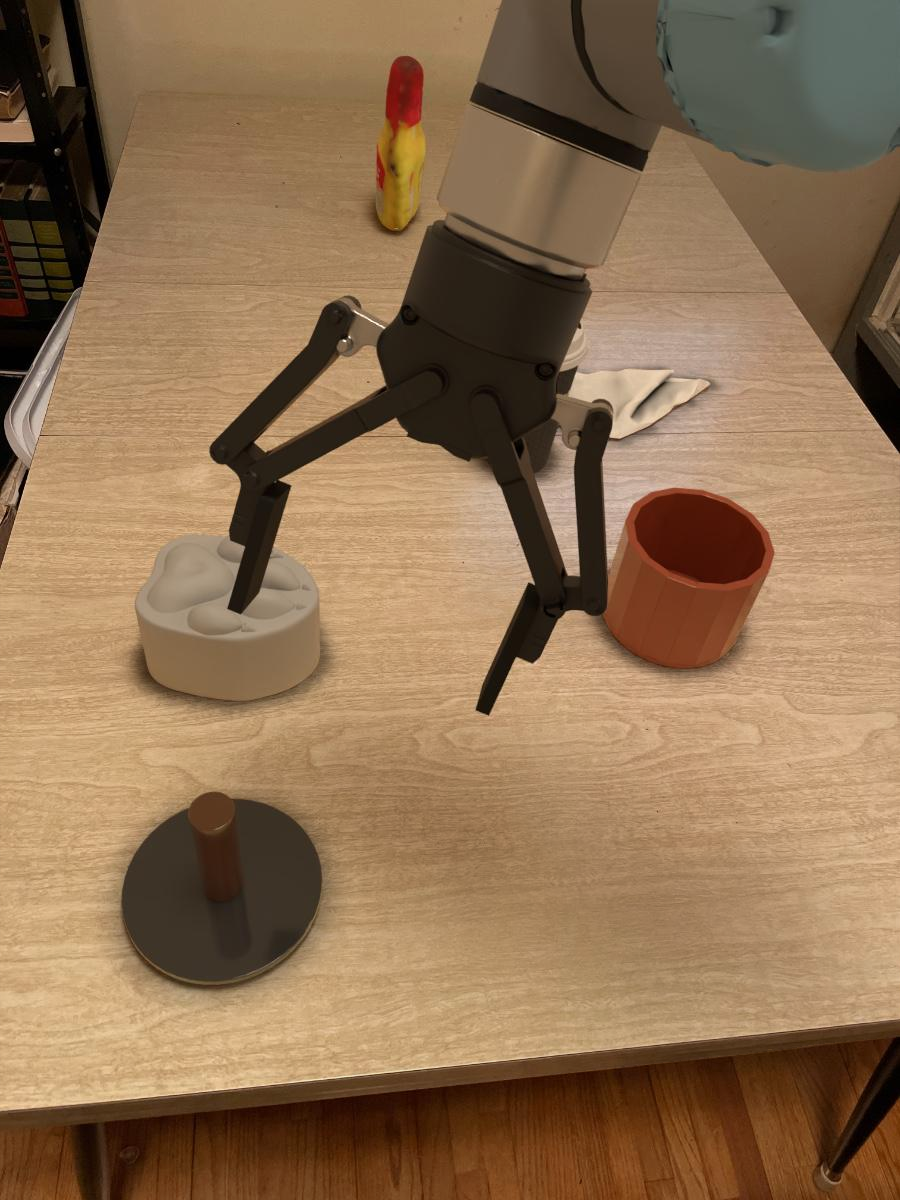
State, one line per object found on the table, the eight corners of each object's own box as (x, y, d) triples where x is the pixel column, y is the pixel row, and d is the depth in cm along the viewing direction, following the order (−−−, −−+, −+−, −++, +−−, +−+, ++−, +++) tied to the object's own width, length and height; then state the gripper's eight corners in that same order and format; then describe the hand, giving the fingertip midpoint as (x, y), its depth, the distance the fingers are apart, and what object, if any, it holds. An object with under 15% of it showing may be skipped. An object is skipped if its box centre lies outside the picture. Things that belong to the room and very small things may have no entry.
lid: (346, 950, 61) (349, 874, 53) (141, 1018, 57) (114, 946, 49) (293, 786, 69) (290, 700, 61) (110, 836, 65) (82, 751, 57)
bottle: (413, 241, 126) (425, 77, 111) (365, 234, 126) (370, 69, 111) (425, 202, 134) (437, 44, 119) (380, 195, 134) (387, 36, 119)
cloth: (484, 431, 99) (487, 413, 98) (480, 357, 109) (483, 339, 107) (730, 449, 101) (737, 431, 99) (705, 374, 110) (711, 357, 109)
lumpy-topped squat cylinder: (179, 589, 80) (167, 511, 74) (332, 613, 80) (333, 538, 74) (135, 685, 73) (117, 609, 67) (303, 713, 73) (301, 638, 67)
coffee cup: (546, 496, 93) (576, 363, 82) (454, 467, 95) (472, 332, 84) (573, 442, 99) (604, 311, 89) (486, 415, 101) (506, 284, 90)
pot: (762, 650, 82) (803, 572, 75) (643, 682, 78) (674, 603, 71) (691, 556, 89) (722, 477, 82) (578, 582, 85) (600, 501, 79)
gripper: (776, 341, 44) (589, 704, 53) (271, 134, 44) (173, 534, 53) (803, 375, 37) (583, 783, 47) (206, 130, 37) (107, 588, 47)
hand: (364, 651), depth 50 cm, fingers open, 13 cm apart
